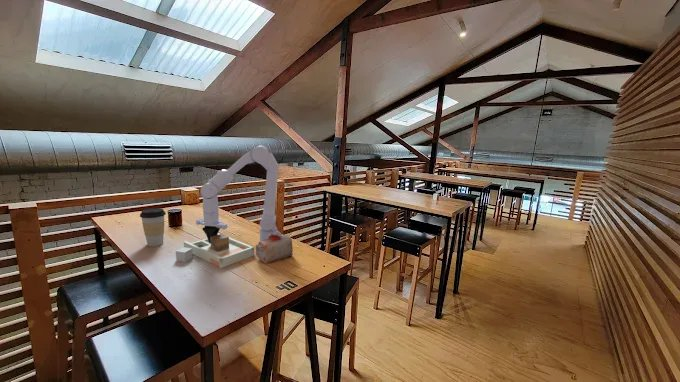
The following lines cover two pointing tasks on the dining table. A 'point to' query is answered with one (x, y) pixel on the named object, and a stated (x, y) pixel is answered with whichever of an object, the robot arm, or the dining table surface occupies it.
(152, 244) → the coffee cup
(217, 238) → the walnut block
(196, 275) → the dining table surface
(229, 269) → the dining table surface
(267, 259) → the grey-brown rough block
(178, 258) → the grey block
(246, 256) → the tray
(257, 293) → the dining table surface
